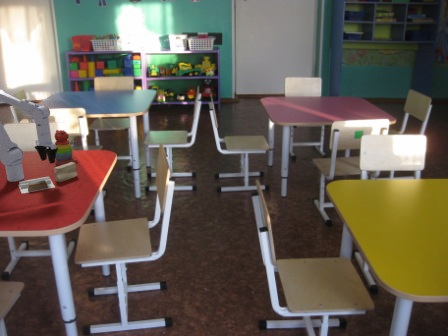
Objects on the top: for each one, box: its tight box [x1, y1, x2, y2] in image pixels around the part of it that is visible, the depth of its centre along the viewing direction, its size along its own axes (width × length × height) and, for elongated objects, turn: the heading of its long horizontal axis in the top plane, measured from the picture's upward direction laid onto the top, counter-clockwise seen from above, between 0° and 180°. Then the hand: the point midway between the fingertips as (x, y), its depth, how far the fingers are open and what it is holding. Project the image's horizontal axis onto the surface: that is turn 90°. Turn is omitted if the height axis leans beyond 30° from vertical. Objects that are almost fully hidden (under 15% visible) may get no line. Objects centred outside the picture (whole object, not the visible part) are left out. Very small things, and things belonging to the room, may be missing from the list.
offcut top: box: [28, 180, 46, 188], centre depth 204 cm, size 3×7×2 cm, turn 119°
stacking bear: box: [54, 129, 78, 166], centre depth 244 cm, size 11×10×18 cm
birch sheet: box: [53, 162, 78, 183], centre depth 217 cm, size 3×10×7 cm, turn 147°
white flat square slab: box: [18, 176, 56, 195], centre depth 209 cm, size 14×14×3 cm
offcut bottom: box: [28, 183, 48, 193], centre depth 205 cm, size 3×8×2 cm, turn 119°
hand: (48, 161), depth 213 cm, fingers open, 7 cm apart
